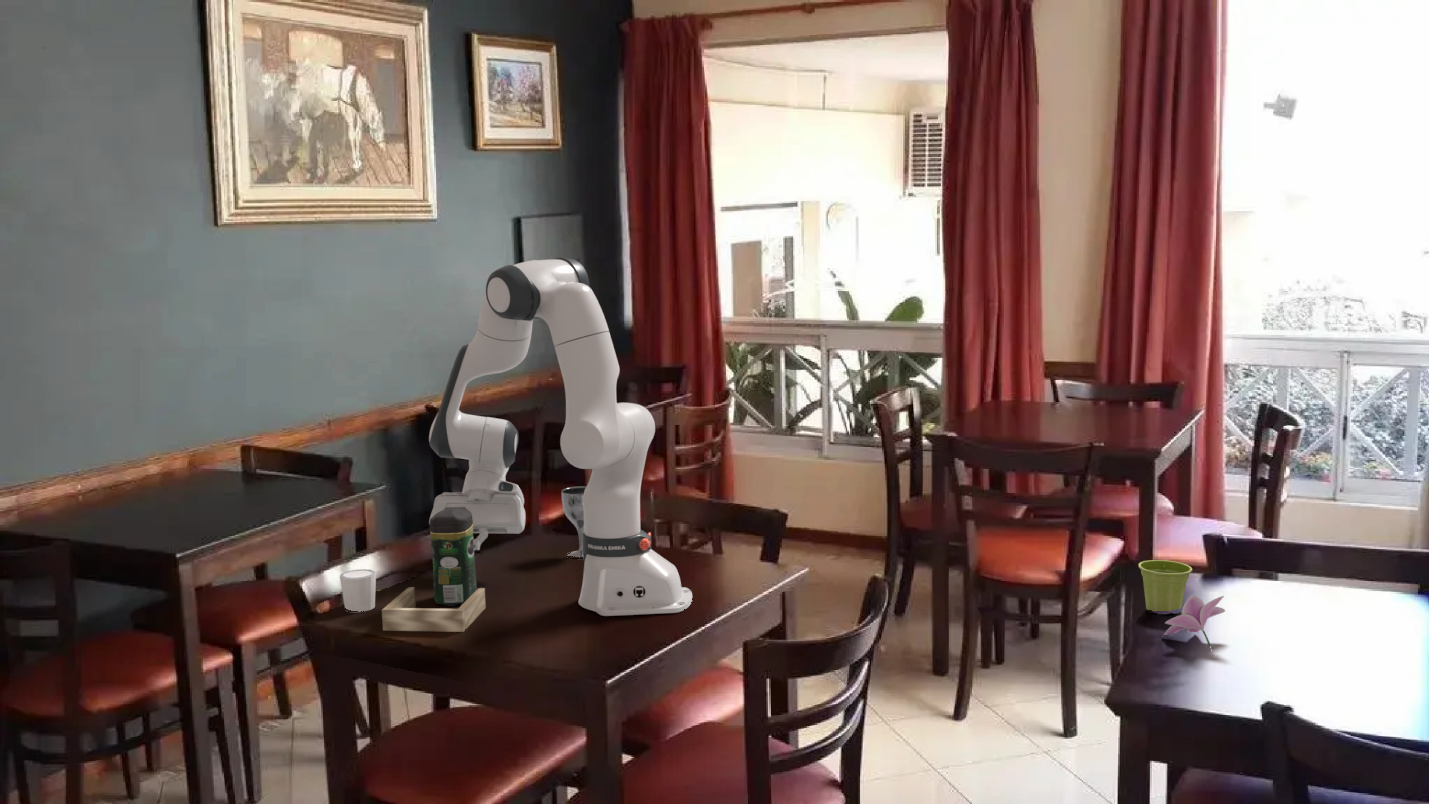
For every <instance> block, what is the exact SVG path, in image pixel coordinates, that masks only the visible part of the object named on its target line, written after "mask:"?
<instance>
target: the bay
mask: <svg viewBox="0 0 1429 804" xmlns="http://www.w3.org/2000/svg"><path fill="white" fill-rule="evenodd" d="M486 605H487V604H486V588H485V587H479V588H478V587H477V590H476V591H475V592H474V593H473V594H472V595H471V596H470V597H469V598H468V599H467V600H466V601H465V602H464V603H463V604H460V607H458V608H431V607H430V608H423V607H422V608H421V607H420V608H419V607H417V606H416V590H415V587H414V586H413V587H412V586H411V587H410V586H409V587H407V588H406V589H404V591H402V592H401V593H400V594H398V596H396V597H395V598H394V599H392V600H391V601H390V602H389V603H388V604H387V605H386V606H385V607H383V608H382V609H381V619H382V631H385V632H387V631H388V632H391V631H392V632H395V631H396V632H446V633H447V632H448V633H449V632H453V633H456V632H457V633H458V632H459V633H461V632H462V633H464V632H465V631H466V630H468V627H470V625H472V624H473V622H474V621H475V620H476V619H477V618H478V617H479V616H480V615H481V614H482V612H483V611H484V610H485V609H486V608H487V607H486ZM465 629H466V630H465Z"/></svg>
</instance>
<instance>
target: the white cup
mask: <svg viewBox="0 0 1429 804" xmlns="http://www.w3.org/2000/svg"><path fill="white" fill-rule="evenodd" d="M376 575H377V572H376V571H375V570H373V569H361V568H360V569H353V570H348V571H345V572H342V573H340V575H339V580H340V586H341V593H342V598H343V605H344V609H345V608H346V609H348V610H351V611H358V612H357V613H362V612H363V611H364V612H367V611H370V610H372V609H375V607H376V582H377V580H376V579H377V577H376ZM361 611H362V612H361ZM364 612H363V613H364Z"/></svg>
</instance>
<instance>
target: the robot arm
mask: <svg viewBox="0 0 1429 804" xmlns="http://www.w3.org/2000/svg"><path fill="white" fill-rule="evenodd" d="M588 275H589V274H588V273H587V270H586V269H585V268H584V266H583V265H582V264H581V263H580V262H579V261H577V260H576V259H572V258H567V257H558V258H554V259H532V260H527V261H523V262H519V263H516V264H513V265H512V264H508V265H507V264H506V265H504V266H502V267H500V268H497V269H496V270H493V272H491V274H490V275H489V276H488V278H487V280H486V283H485V293H484V295H483V299H482V301H481V307H480V311H479V316H478V322H477V323H478V324H477V331H476V332H475V336H474V337H473V339H472V340H471V341H470V342H469V343H468V344H464V345H462V346H461V347H460V348H459V350H458V353H457V354H456V356H455V360H454V362H453V366H452V368H451V370H450V373H449V377H448V381H447V382H446V383H447V384H446V385H445V386H446V387H445V390H444V393H443V395H442V398H441V399H442V400H441V403H440V406H439V408H438V412H437V413H436V415H435V417H434V419H433V422H432V423H431V426H430V429H429V435H428V442H429V446H430V448H431V450H433V452H434V453H435V454H436V455H437V456H439V457H440V458H443V459H444V458H445V459H446V458H447V459H463V460H468V467H469V468H468V471H467V472H466V474H465V479H464V483H463V487H462V491H461V492H459V491H458V492H457V491H455V492H448V491H446V492H445V491H444V492H442V493H441V494H439V495H436V497H435V498H434V501H433V508H432V510H431V513H430V517H429V520H428V524H429V525H430V519H431V518H432V517H433V516H434V515H435V514H437V513H438V512H440V511H442V510H444V509H445V508H446V507H465V508H466V509H468V510H469V511H470V512H471V513H472V520H473V534H479V535H478V536H476V538H475V539H474V538H473V544H474V551H480V549H481V546H482V543H483V542H484V541H485V540H486V539H488V536H489V534H517V535H518V534H521V533H522V532H523V531H524V530H525V526H526V510H525V508H524V505H525V498H524V494H523V492H522V489H521V488H520V487H519V485H518V484H516V483H513V482H509V481H507V480H506V476H507V473H508V472H509V469H510V467H511V465H513V464H514V463H515V461H516V454H517V449H518V446H519V442H520V436H519V435H520V434H519V431H518V430H517V428H516V427H515V425H514V424H513V423H512V422H511V421H509V420H507V419H503V418H496V417H490V416H481V415H474V414H470V413H469V414H468V413H464V412H462V411H461V410H460V406H461V403H462V400H463V397H464V395H465V390H466V388H467V385H468V384H469V382H471V381H473V380H475V379H478V378H481V377H484V376H488V375H494V374H500V373H504V372H508V371H510V370H512V369H515V368H516V367H517V366H519V365H521V363H522V362H523V361H524V360H525V358H526V357H527V355H528V351H529V349H530V344H531V340H532V333H533V323H534V322H533V321H534V318H535V317H537V318H541V319H542V320H544V322H546V324H547V326H548V329H549V331H550V334H551V335H550V336H551V339H552V343H553V347H554V350H555V354H556V357H557V361H558V365H559V368H560V372H561V376H562V380H563V384H564V393H565V422H564V423H565V424H564V427H563V430H562V432H561V434H560V440H559V444H560V450H561V453H562V455H563V457H564V458H565V459H566V461H567V462H568V463H569V464H570V465H572V466H573V467H575V468H578V469H581V470H582V469H583V470H591V474H590V478H589V481H588V482H587V485H586V489H585V491H584V495H583V508H584V533H583V534H582V556H583V559H582V560H583V562H584V564H583V565H584V566H583V575H582V576H583V577H582V584H581V585H582V586H581V589H580V594H579V595H580V596H579V598H578V605H579V606H581V607H582V608H584V609H585V610H589V611H593V612H596V613H597V615H598V614H599V615H600V616H603V617H609V616H610V617H611V616H612V617H614V616H634V615H636V616H637V615H655V614H657V615H658V614H659V615H660V614H677V613H680V612H683V611H685V610H686V609H688V608H689V607H690V605H691V604H692V603H691V602H693V600H692V598H693V592H692V590H691V589H689V588H688V587H685V586H684V587H683V586H682V583H681V577H680V575H679V572H678V569H677V567H676V566H675V565H674V564H673V563H671V562H670V561H669V560H667V559H666V558H664V557H663V556H661V555H660V554H659V553H657V552H656V551H655V550H653V549H652V534H651V533H652V532H651V531H650V532H648V533H647V532H645V531H644V530H642V529H641V487H642V481H643V474H644V469H645V466H646V465H645V464H646V460H647V455H648V450H649V447H650V446H651V443H652V441H653V439H654V436H655V433H656V423H655V420H654V417H653V415H652V413H651V412H650V410H648V409H647V408H646V407H645V406H643V405H641V404H638V403H633V402H617V401H618V400H617V384H618V383H617V382H618V379H619V375H620V371H621V370H620V365H619V360H618V357H617V354H616V350H615V348H614V343H613V340H612V337H611V334H610V333H611V332H610V329H609V326H608V323H607V320H606V318H605V314H604V312H603V309H602V307H601V305H600V303H599V300H598V298H597V296H596V295H595V293H594V291H593V290H592V288H591V287H590V280H589V276H588ZM693 599H694V598H693ZM684 609H685V610H684Z"/></svg>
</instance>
